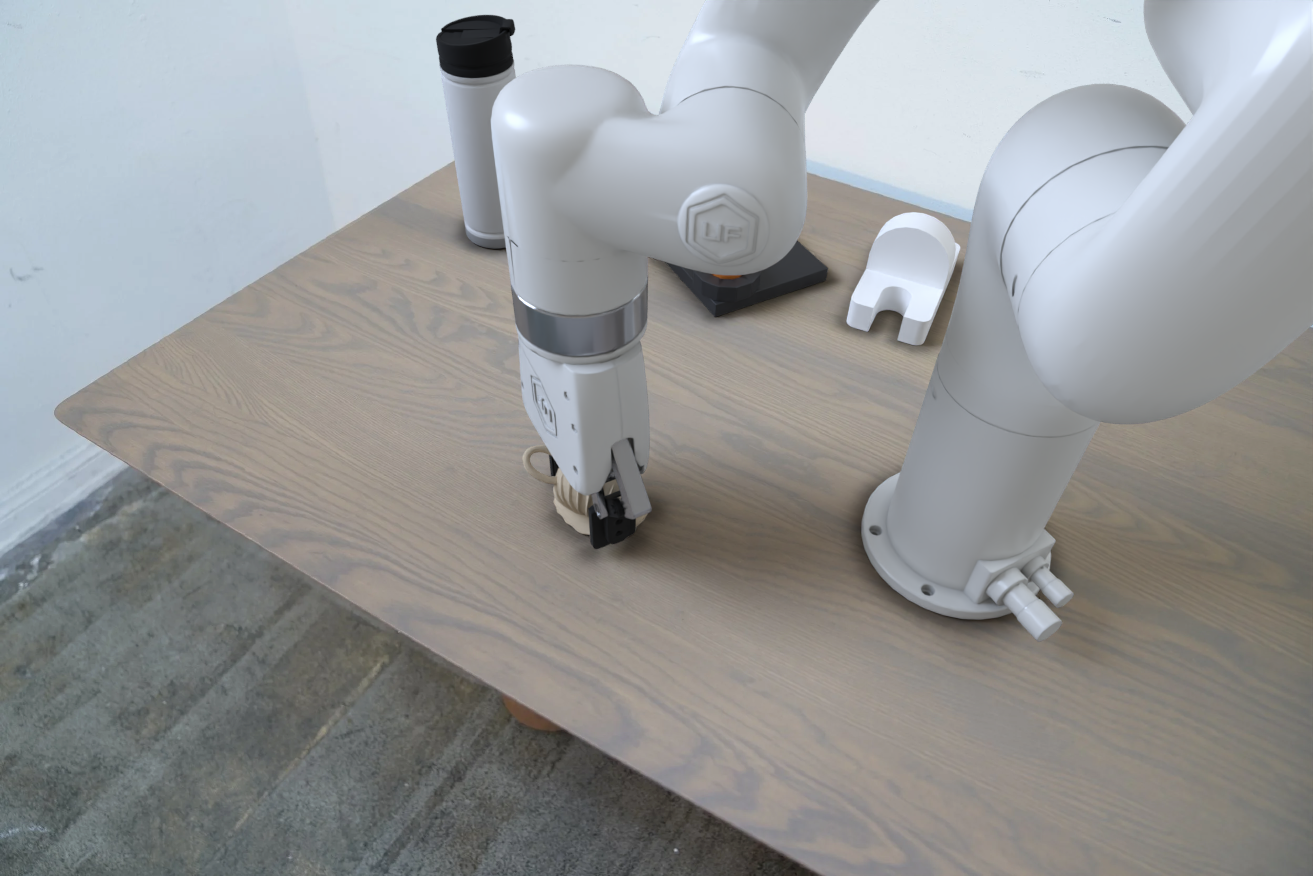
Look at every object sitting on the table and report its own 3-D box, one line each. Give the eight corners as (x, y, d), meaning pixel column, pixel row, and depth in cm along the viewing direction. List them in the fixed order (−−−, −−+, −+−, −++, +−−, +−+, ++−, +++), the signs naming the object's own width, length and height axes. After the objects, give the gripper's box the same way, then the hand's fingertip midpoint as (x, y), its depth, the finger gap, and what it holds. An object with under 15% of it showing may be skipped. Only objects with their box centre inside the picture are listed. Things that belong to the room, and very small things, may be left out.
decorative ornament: (629, 551, 62) (629, 501, 58) (522, 512, 64) (515, 462, 60) (653, 508, 64) (654, 458, 60) (549, 473, 66) (543, 422, 62)
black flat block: (829, 283, 83) (834, 256, 81) (713, 321, 79) (715, 294, 77) (746, 206, 92) (749, 180, 90) (638, 237, 88) (638, 211, 85)
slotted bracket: (922, 347, 77) (944, 272, 71) (843, 324, 79) (859, 249, 73) (954, 267, 85) (977, 194, 79) (883, 248, 87) (900, 175, 81)
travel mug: (530, 250, 86) (508, 38, 71) (461, 249, 86) (425, 36, 71) (537, 214, 90) (518, 8, 76) (472, 213, 90) (440, 6, 76)
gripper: (464, 239, 54) (498, 444, 67) (584, 419, 44) (597, 620, 57) (577, 209, 57) (588, 412, 70) (717, 372, 46) (699, 575, 59)
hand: (592, 504), depth 63 cm, fingers closed on decorative ornament, 5 cm apart
